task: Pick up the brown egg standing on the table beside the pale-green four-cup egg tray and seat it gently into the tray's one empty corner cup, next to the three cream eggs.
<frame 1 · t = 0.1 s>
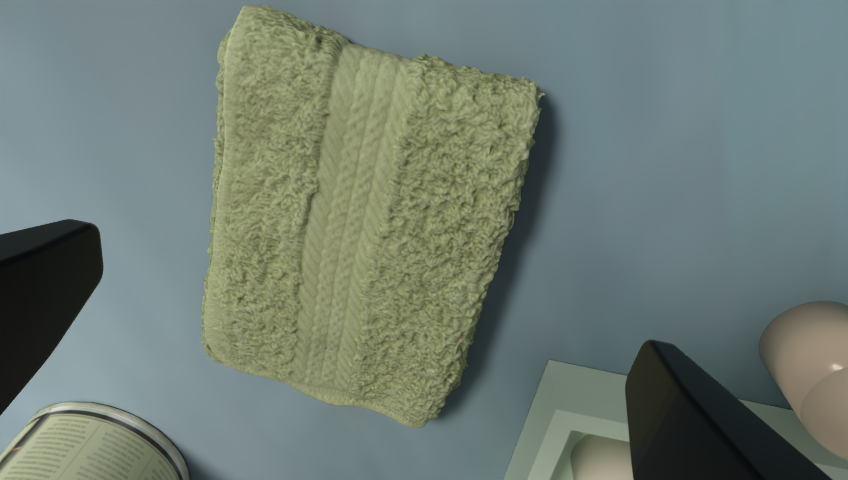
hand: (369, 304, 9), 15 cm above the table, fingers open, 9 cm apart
washcloth: (361, 230, 26), on the table
egg b: (614, 458, 29), point 1 cm above the table, touching egg tray
brown egg: (811, 341, 26), on the table
coffee can: (111, 459, 35), on the table
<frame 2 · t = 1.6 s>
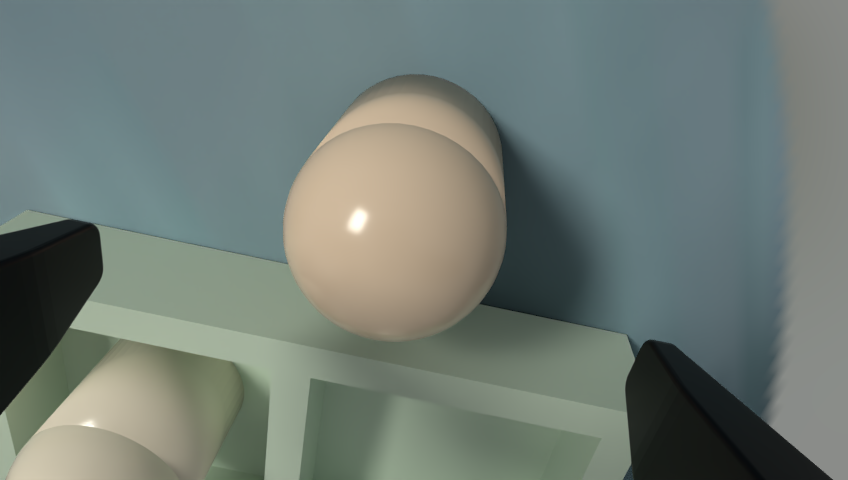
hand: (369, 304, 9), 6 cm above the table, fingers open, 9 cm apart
egg b: (177, 380, 18), point 1 cm above the table, touching egg tray
brown egg: (417, 159, 15), on the table
egg tray: (303, 474, 21), on the table
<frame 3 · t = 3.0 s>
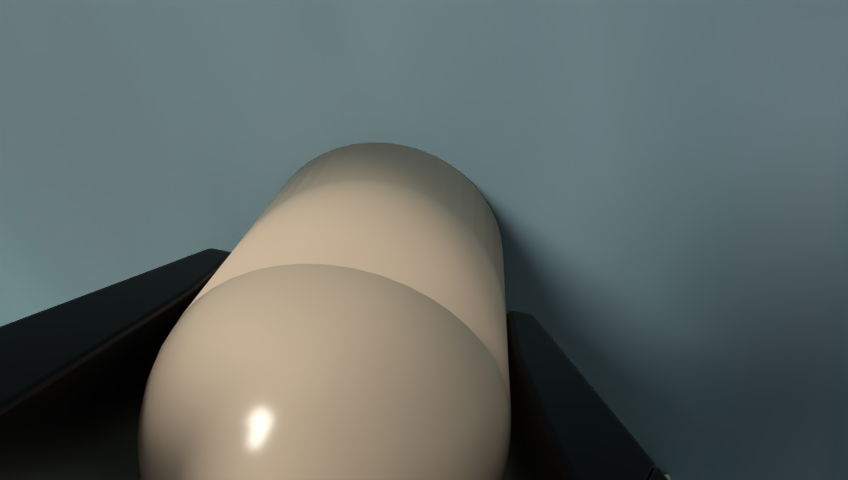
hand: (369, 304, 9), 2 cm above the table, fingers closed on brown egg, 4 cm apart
brown egg: (383, 256, 11), on the table, touching gripper
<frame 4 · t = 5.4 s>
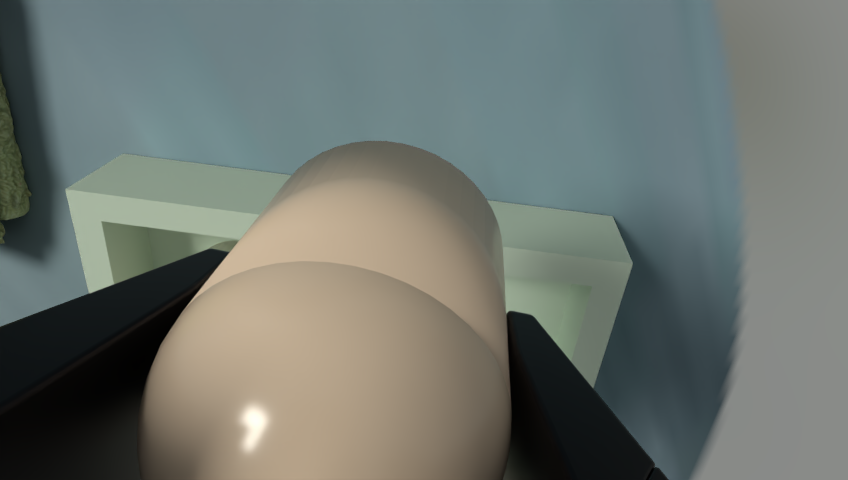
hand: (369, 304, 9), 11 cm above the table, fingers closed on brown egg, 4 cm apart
brown egg: (383, 254, 11), point 10 cm above the table, touching gripper
egg tray: (354, 372, 25), on the table
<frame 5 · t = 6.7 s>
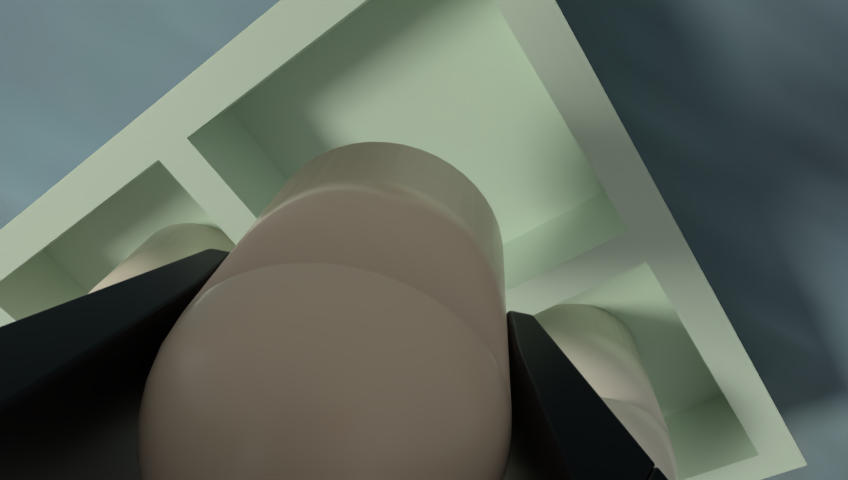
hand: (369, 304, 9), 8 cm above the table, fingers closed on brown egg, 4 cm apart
egg b: (204, 283, 19), point 1 cm above the table, touching egg tray
brown egg: (383, 255, 11), point 7 cm above the table, touching gripper
egg tray: (389, 307, 19), on the table
egg c: (567, 359, 19), point 1 cm above the table, touching egg tray
when the fingers open (4 cm above the table, at t = 7.7 s): brown egg drops 2 cm, resting on egg tray.
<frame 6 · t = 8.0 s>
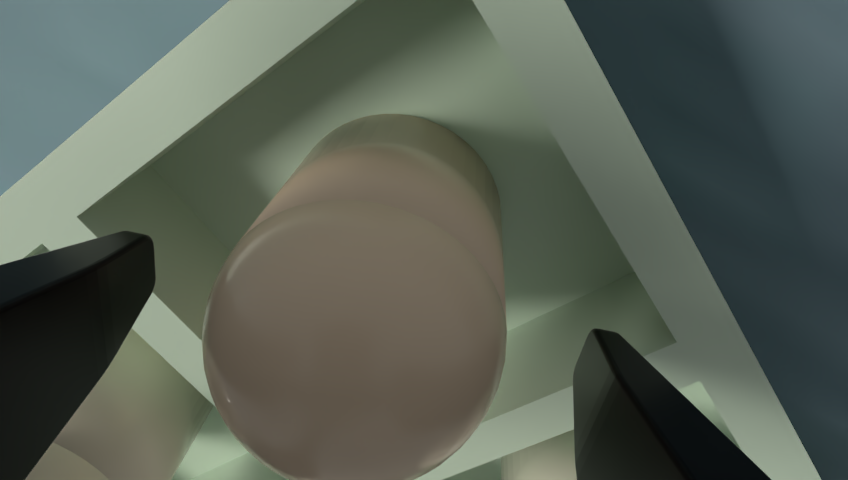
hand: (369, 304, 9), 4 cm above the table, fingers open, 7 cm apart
egg b: (135, 370, 15), point 1 cm above the table, touching egg tray
brown egg: (396, 216, 12), point 1 cm above the table, touching egg tray
egg tray: (366, 395, 16), on the table
egg c: (585, 464, 15), point 1 cm above the table, touching egg tray
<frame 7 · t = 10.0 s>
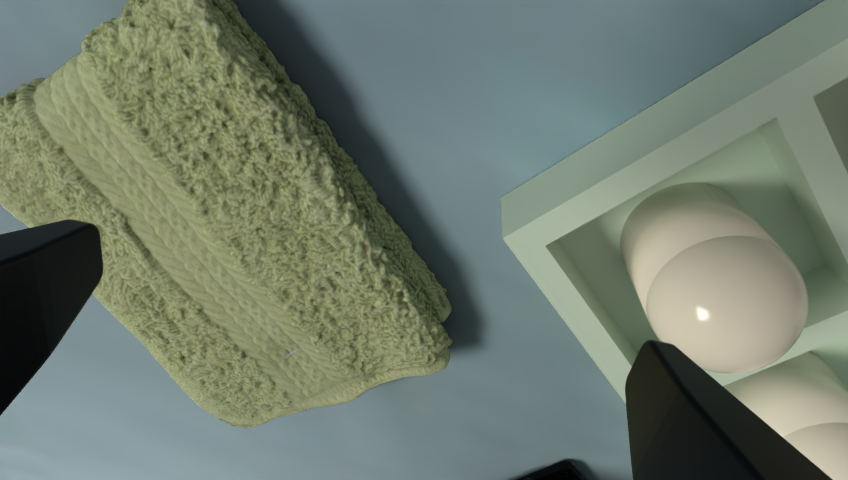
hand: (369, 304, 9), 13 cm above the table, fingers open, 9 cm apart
washcloth: (242, 225, 24), on the table
egg b: (682, 238, 21), point 1 cm above the table, touching egg tray
egg a: (773, 389, 24), point 1 cm above the table, touching egg tray
egg tray: (834, 256, 22), on the table
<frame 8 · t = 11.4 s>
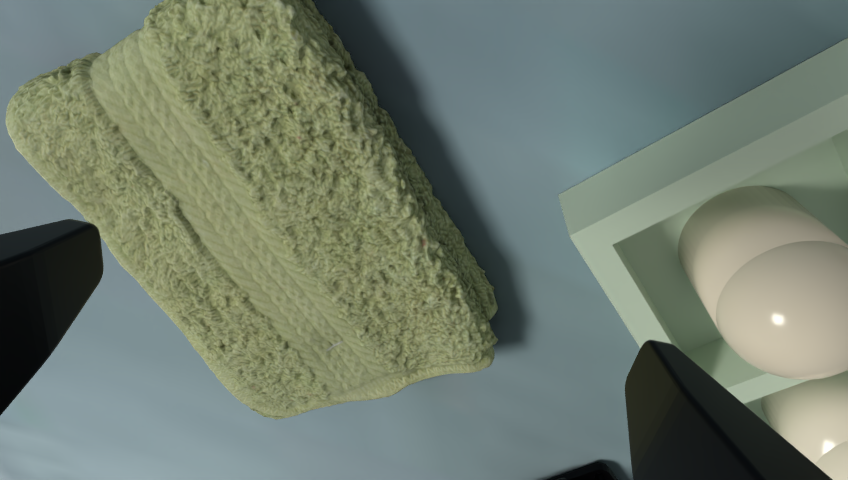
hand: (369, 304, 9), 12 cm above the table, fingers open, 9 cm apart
washcloth: (288, 213, 24), on the table
egg b: (741, 241, 21), point 1 cm above the table, touching egg tray
egg a: (818, 395, 24), point 1 cm above the table, touching egg tray
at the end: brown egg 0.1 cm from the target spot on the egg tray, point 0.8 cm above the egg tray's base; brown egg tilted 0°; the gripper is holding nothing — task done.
